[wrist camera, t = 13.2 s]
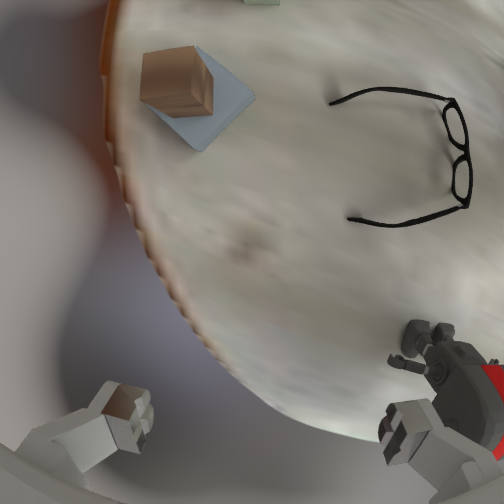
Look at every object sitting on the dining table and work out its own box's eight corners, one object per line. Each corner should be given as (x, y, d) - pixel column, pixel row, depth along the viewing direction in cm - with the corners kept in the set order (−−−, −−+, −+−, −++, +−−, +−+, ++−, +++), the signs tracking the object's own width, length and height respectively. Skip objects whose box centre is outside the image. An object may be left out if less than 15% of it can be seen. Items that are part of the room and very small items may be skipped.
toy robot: (359, 355, 41) (423, 535, 12) (380, 301, 38) (493, 478, 10) (460, 362, 41) (541, 479, 12) (482, 317, 38) (587, 425, 10)
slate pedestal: (204, 57, 31) (197, 46, 28) (255, 100, 33) (253, 92, 29) (155, 107, 33) (142, 101, 30) (203, 151, 35) (195, 150, 31)
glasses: (456, 210, 35) (476, 215, 31) (347, 227, 36) (360, 236, 32) (441, 96, 31) (461, 90, 26) (326, 96, 32) (336, 86, 27)
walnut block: (174, 81, 29) (143, 53, 20) (213, 77, 29) (193, 45, 20) (173, 118, 30) (139, 99, 21) (212, 115, 30) (191, 93, 21)
